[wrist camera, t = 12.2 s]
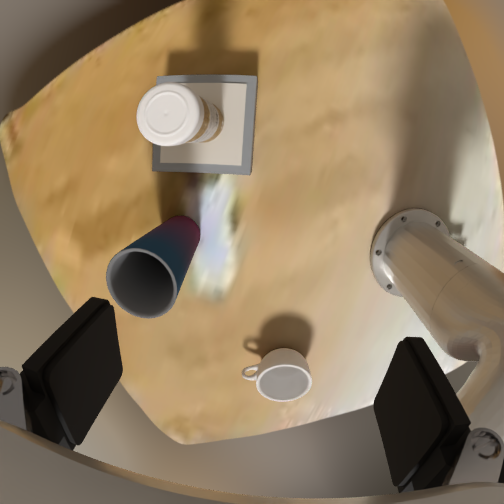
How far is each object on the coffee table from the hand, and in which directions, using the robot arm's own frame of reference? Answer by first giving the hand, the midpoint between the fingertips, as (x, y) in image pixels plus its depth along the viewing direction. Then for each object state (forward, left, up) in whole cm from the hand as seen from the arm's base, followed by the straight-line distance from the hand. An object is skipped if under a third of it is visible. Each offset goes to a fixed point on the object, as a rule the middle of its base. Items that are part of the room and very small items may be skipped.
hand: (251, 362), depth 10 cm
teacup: (-4, +25, -31) cm, 40 cm away
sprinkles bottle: (+7, -8, -27) cm, 29 cm away
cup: (+10, +6, -31) cm, 33 cm away
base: (+7, -8, -31) cm, 32 cm away
